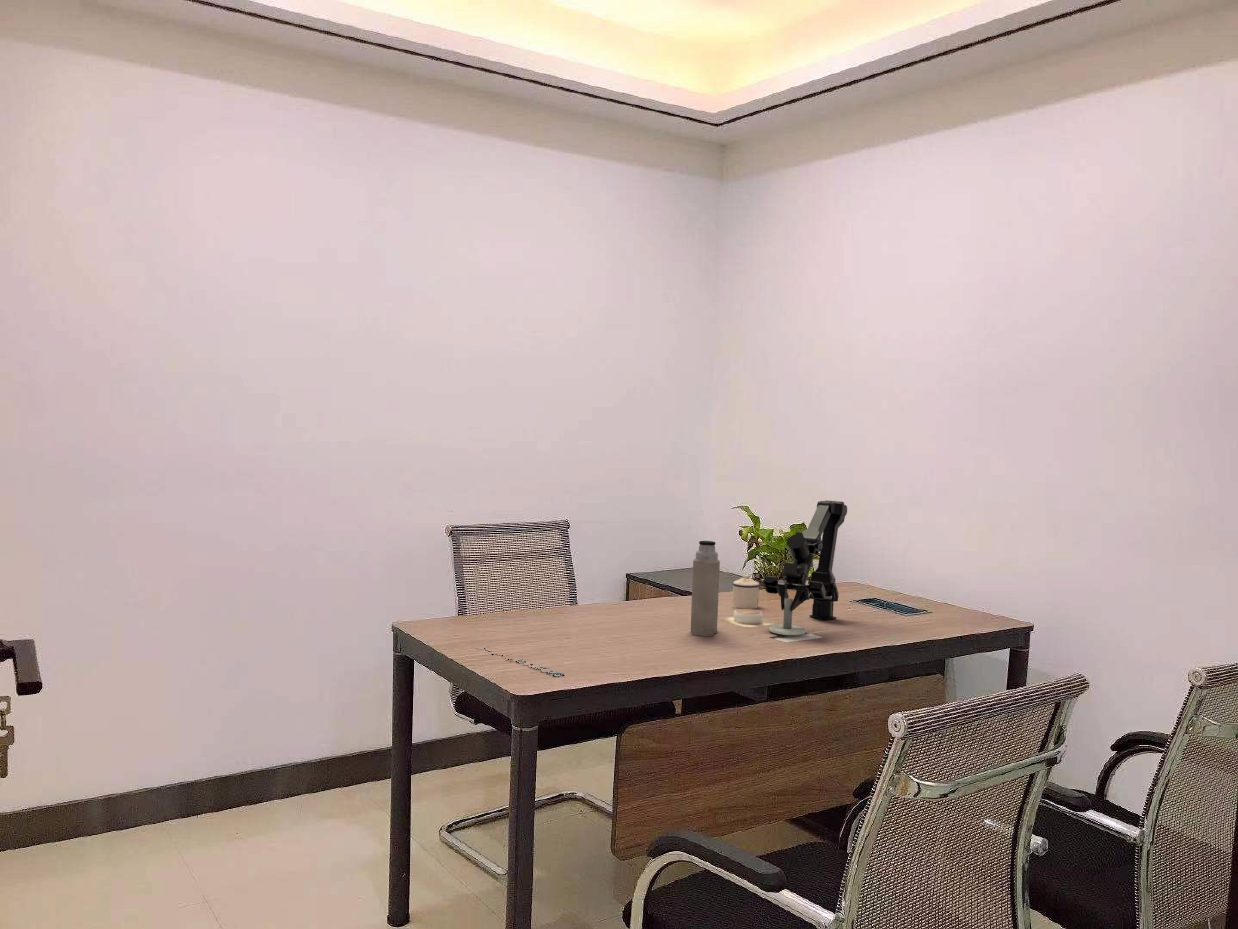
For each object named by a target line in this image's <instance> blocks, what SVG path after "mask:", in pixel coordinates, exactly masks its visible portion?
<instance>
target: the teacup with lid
mask: <svg viewBox="0 0 1238 929" xmlns="http://www.w3.org/2000/svg"><path fill="white" fill-rule="evenodd" d="M732 585H733V587H732V588H733V590H732V608H738V609H752V610H755V609H757V608H758V607H759V593H760V592H759V590H760V589H759V588H760V583H759V581H755V580H754V579H753V578H751V577H750V575H749V574H744V575H743V577H741V578H739V579H737V580H734V581H733V582H732Z"/></svg>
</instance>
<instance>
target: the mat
mask: <svg viewBox="0 0 1238 929" xmlns="http://www.w3.org/2000/svg"><path fill="white" fill-rule="evenodd" d="M768 638H770V639H773V640H777V641H780V642H783V643H793V642H799V641H808V640H815V639H821V638H823V637H822V636H820V635H816V634H812V633H808V632H806V633H805V634H802V635H782V634H781V635H775V636H769V637H768Z"/></svg>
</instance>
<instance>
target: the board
mask: <svg viewBox="0 0 1238 929" xmlns="http://www.w3.org/2000/svg"><path fill="white" fill-rule="evenodd" d="M718 620H719V621H722V622H726V623H728V624H732V625H735V626H738V627H742V628H745V629H747V628H755V627H756V628H757V627H762V626H764V627H765V626H772V625H780V622H779V623H778V622H776V621H772V620H768V619H765V618H762V623H760V624H742V623H737V622H735V621H734V616H732V617H724V618H723V617H722V618H718V619H717V621H718Z"/></svg>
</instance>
